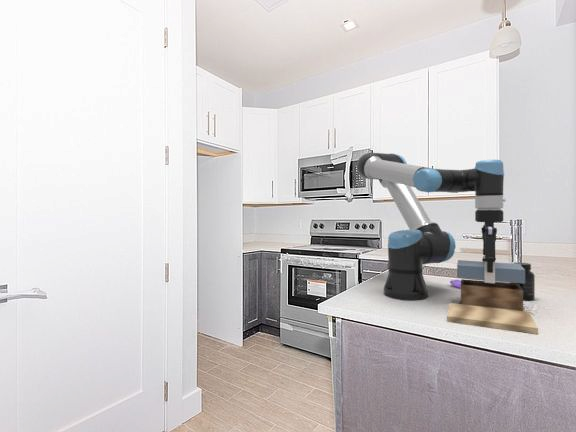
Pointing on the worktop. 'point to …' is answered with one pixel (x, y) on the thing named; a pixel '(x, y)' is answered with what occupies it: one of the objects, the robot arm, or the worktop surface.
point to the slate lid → (502, 271)
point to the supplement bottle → (528, 282)
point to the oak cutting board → (492, 318)
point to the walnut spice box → (492, 294)
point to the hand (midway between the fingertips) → (488, 279)
